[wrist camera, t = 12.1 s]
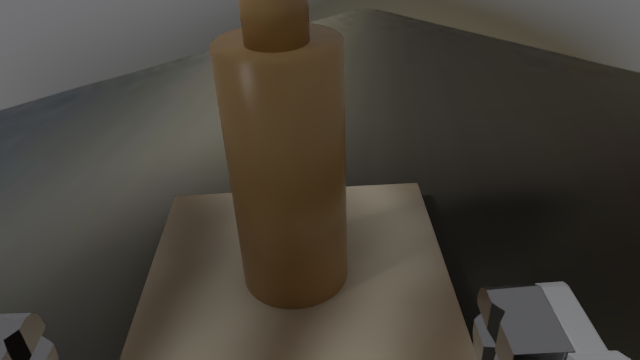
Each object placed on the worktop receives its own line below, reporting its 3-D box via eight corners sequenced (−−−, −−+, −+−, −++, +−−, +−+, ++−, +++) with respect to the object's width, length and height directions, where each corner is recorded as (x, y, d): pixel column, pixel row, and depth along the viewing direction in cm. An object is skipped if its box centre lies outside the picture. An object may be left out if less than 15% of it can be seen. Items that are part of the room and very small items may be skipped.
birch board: (108, 434, 20) (100, 414, 20) (178, 212, 32) (175, 195, 31) (485, 413, 20) (489, 392, 20) (416, 200, 32) (417, 182, 31)
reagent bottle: (240, 312, 23) (179, -51, 16) (248, 241, 27) (204, -75, 20) (351, 306, 23) (346, -60, 16) (343, 237, 28) (337, -81, 20)
